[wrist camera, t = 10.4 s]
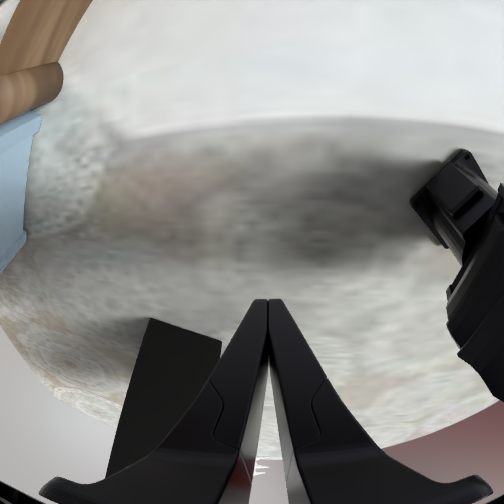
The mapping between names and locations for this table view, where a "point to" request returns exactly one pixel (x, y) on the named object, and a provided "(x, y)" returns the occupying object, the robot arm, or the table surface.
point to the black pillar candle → (161, 389)
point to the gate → (14, 181)
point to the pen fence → (35, 53)
